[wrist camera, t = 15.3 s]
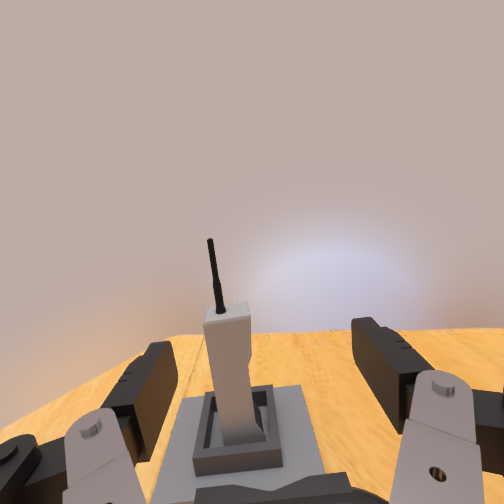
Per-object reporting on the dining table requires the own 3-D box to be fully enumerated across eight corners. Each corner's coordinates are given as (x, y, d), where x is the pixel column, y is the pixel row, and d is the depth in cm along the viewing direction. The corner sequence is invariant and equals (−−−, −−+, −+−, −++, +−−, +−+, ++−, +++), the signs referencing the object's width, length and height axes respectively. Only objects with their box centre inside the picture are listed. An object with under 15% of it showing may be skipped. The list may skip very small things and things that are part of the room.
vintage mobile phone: (266, 443, 31) (240, 237, 26) (224, 452, 31) (188, 244, 25) (262, 417, 35) (238, 231, 29) (224, 425, 35) (192, 237, 29)
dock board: (301, 393, 40) (299, 370, 39) (329, 496, 27) (327, 465, 26) (184, 406, 40) (179, 384, 39) (152, 516, 27) (144, 486, 26)
